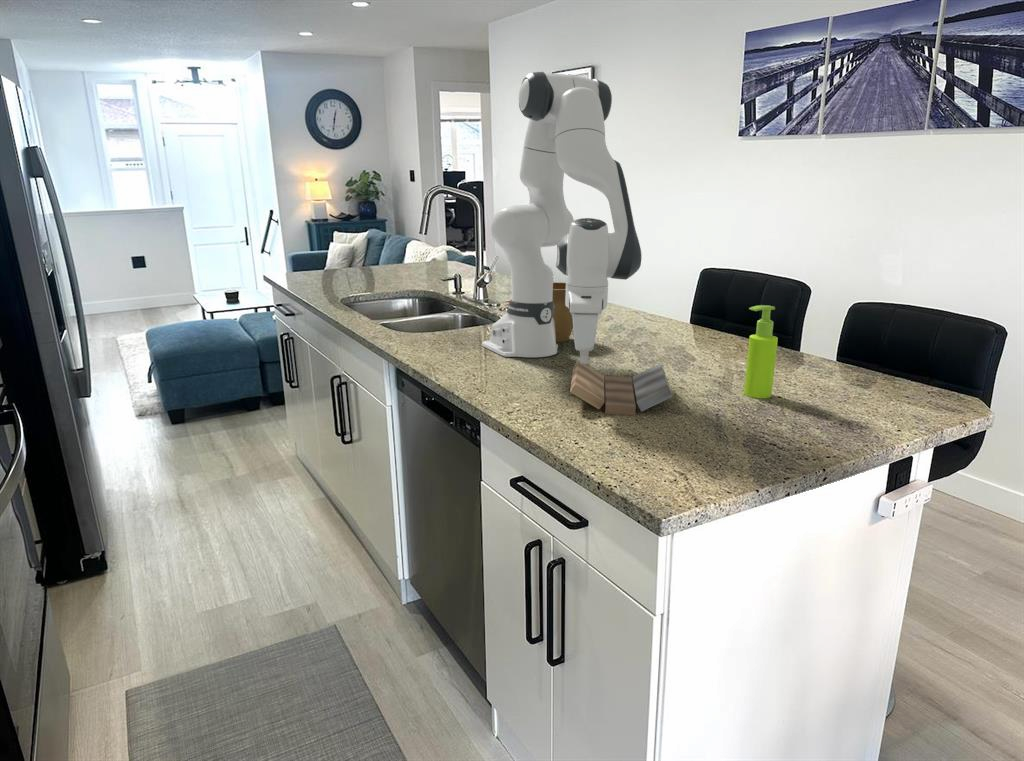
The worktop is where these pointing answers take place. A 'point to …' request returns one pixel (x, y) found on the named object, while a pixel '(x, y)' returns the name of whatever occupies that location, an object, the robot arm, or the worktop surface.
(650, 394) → the grey plank
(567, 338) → the plant pot
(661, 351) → the worktop surface
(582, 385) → the smoked oak plank
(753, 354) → the soap dispenser
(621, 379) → the walnut strip
